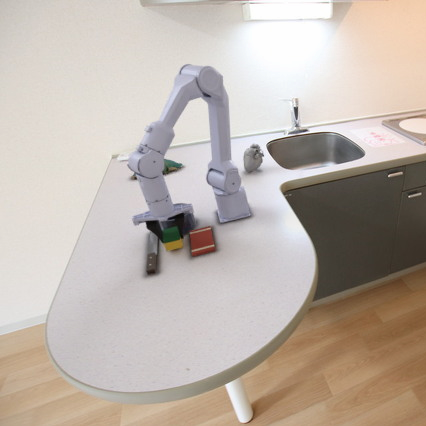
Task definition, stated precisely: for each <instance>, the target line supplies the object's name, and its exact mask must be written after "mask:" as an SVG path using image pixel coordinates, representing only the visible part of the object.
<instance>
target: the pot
mask: <svg viewBox="0 0 426 426" xmlns="http://www.w3.org/2000/svg"><path fill="white" fill-rule="evenodd" d="M184 204H186V203H185V202H178V203H173V205H184ZM184 215H185V220H184V225H183V235H185V234H187V233H190V231H191V230H194V229H195V227H196V225H197V221H196V217H195V214H194V213H185V214H184ZM158 221H159V220H158ZM159 224H160V227H161V230H162V232H163V230H164V229H168V228H172V227H176V226H177V225H176V223H175V216H172V217H169V218H168V219H167V220H165V221H159Z"/></svg>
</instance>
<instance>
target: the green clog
mask: <svg viewBox="0 0 426 426" xmlns="http://www.w3.org/2000/svg"><path fill="white" fill-rule="evenodd" d="M183 166H184V165H183V163H181V162H176V161H174V160H171V159H168V158H164V170H163V171H162V174H163V175H165V174H166V175H167V174H168V173H169V172H171V171H174V170H178V168H181V167H183ZM131 178H132V179H133V180H135V178H137V177H136V173H135V172H133V175H132V177H131Z"/></svg>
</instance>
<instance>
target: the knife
mask: <svg viewBox="0 0 426 426" xmlns="http://www.w3.org/2000/svg"><path fill="white" fill-rule="evenodd" d="M148 243H149V244H148V251H147V259H146V266H145V267H146V269H145V272H146V274H147V275H148V276H151V275H153V274H156V272H157V257H158V251H159V249H158V248H159V238H158V237H157V236H156V235H155V234H154V233H152V232H151V231H149V242H148Z"/></svg>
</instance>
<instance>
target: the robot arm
mask: <svg viewBox="0 0 426 426" xmlns="http://www.w3.org/2000/svg"><path fill="white" fill-rule="evenodd" d="M200 98H201V99H202V100H203V101H204V102H205V103H206V104H207V111H208V112H207V113H208V123H209V125H208V126H209V137H210V150H211V160H210V162H208V164H207V171H206V174H205V181H206V183H207V184H208V185H209V186H210V187H211V188H212V191H213V194H214V199H215V203H216V206H217V211H216V212H217V215H218V219H219V223H220V224H223V223H228V222H232V221H236V220H240V219H243V218H248V217H250V216H251V212H250V204H249V201H248V196H247V192H246V189H245V187H244V186H242V178H241V176H240V174H239V168H238V166H237V165H236V164H235V162H234V161H233V160H232V140H231V122H230V101H229V94H228V92H227V90H226V88H225V85H224V76H223V75H222V74H221V73H220V72H219V70H217V69H216V68H215V67H213V66H211V65H196V64H195V65H194V64H190V63H185V64H183V65H181V66H180V68H179V70H178V73H177V74H176V75H175V76H174V79H173V86H172V89H171V92H170V93H169V96H168V98H167V100H166V103H165V105H164V107H163V110H162V112H161V114H160V116H159V118H158V120H155V121H152V122H150V124H149V125H146V126H145V128H144V131H145V133H144V135H143V137H142V139H141V141H140V143H139V145H136V147H135V150H134V151H133V152H131V153H130V154H129V156H128V158H127V162H128V163H127V164H126V166H127V168H128V169H129V170H130V171H131V172H132V173H134V172H135V173H136V177H135V178H136V179H137V182H138V185H139V187H140V190H141V193H142V195H143V198H144V201H145V204H146V205H147V208H148V210H147V211H144V212H142V213H139V214H136V215H132V218H131V219H132V224H133V226H139V225H140V224H144V223H145V228H146V229H147V230H148V231H149V232H152V233H154V234H155V235H156V236H157V237H158V240H159V241H160V242H161V243H162V244H164V243H163V232H162V230H161V227H160V224H159V221H165V220H167V219H168V218H169V217H172V216H175V223H176V225H177V228H178V230H179V234H180V237H181V239H182V240H184V239H185V236H184V235H185V234H183V225H184V220H185V215H184V214H185V213H193V214H194V213H195V212H194V207H193V204H192V203H185V204H184V205H173V204H174V203H173V200H172V197H171V194H170V192H169V188H168V185H167V182H166V180H165V177H164V174H163V173H162V171H163V170H164V159H165V156H166V154H167V152H168V150H169V149H170V146H171V144H172V142H173V141H174V138H175V137H176V134H175V130H174V127H175V125H176V124H177V122H178V121H179V119H180V117H181V115H182V114H183V113H184V111H185V109H186V107H187V105H188V104H189V102H191V101H193V100H196V99H197V100H198V99H200ZM158 220H159V221H158Z"/></svg>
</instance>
